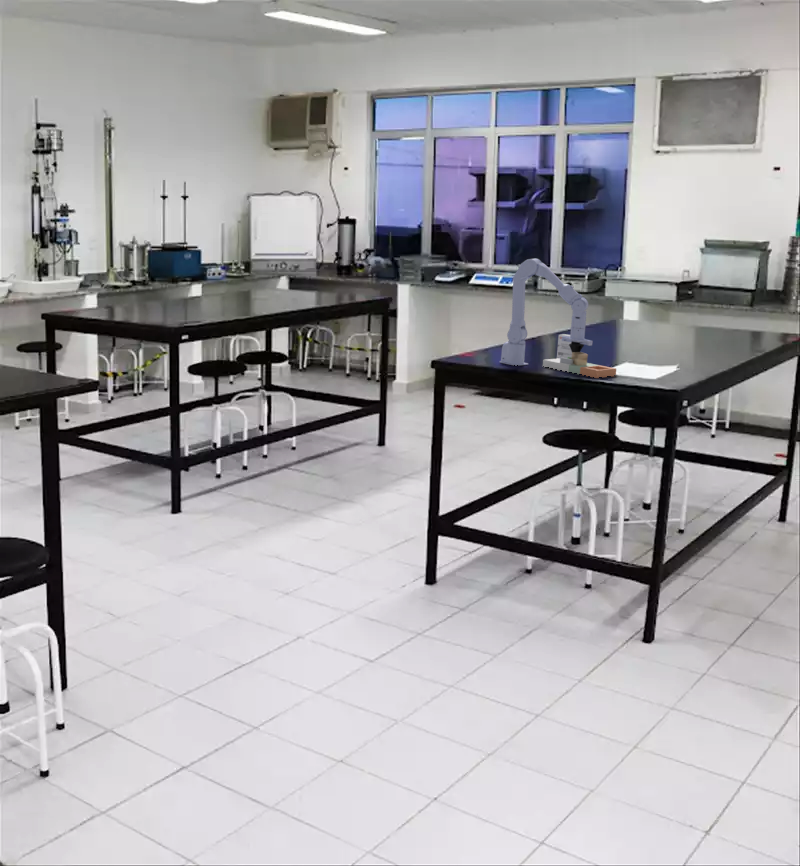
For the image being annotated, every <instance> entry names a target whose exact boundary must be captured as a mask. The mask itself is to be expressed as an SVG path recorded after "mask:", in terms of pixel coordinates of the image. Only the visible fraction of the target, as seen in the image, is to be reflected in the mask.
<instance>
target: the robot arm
mask: <svg viewBox="0 0 800 866" xmlns="http://www.w3.org/2000/svg"><path fill="white" fill-rule="evenodd" d="M534 275H535V276H538V277H543V278H544V279H545V280H547V281H548V282H549V283H550V284H551V285H552V286H553V287H554V288H556V290H558V296H560V297H561V298H562V299H563V301H565V303H567V304H568V305H569V306H571V307H570V308H571V310H572V314H571V323H570V324H571V325H570V334H569V335H570V337H568V336H562V341H567V342H572V343H571V344H569V346H570V348H571V351H572V352H582V349H583V348H584V347H585V345H586V346H589V347H590V346H591V347H592V346H593V340H591V339H586V338H585V337H586V336H585V335H586V325H587V324H586V323H587V322H586V321H587V310H588V308H589V301H588V299H586V297H583V295H582V294H581V293H579V292H577V291H576V289H574V286H573V285H572V284H571V285H570V284H569V283H566V284H565V283H563V281H562V280H561V279H560V278H559V277H558V276H557V275H556V274H555V273H554V272H553V271H552V269H550V267H548V266H547V265H546V264H545V263H544V262H542V260H540V259H539V258H528V259H526V260H524V261H522V262H521V263H520V265H519V267H518V269H517V270H516V272H515V273H514V274H513V278H512V304H511V305H512V306H511V307H512V309H511V310H512V311H511V322H510V323H509V330H508V332H507V334H506V335H507V336H506V337H507V339H508V341H505V342H504V343H503V344H502V347H501V355H500V360H499V363H501V364H504V365H505V364H506V365H511V366H514V365H515V366H516V367H518V366H526V365H528V366H529V363H528V362H525V353H526V342H527V341H526V339H527V337H528V330H527V327H526V320H525V311H526V310H525V307H526V306H525V305H526V303H525V302H526V282H527V281H528V280H529V279H531V278H532V276H534ZM575 341H577V342H575ZM517 365H518V366H517Z"/></svg>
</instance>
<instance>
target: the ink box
mask: <svg viewBox="0 0 800 866" xmlns="http://www.w3.org/2000/svg"><path fill="white" fill-rule="evenodd" d="M562 336H568V337H570V334H565V333H562V334H558V338H557V349H556V350H557V351H556V359H557V358H568V359H571V358H572V351H571V348H570V346H569V344H571V343H572V342H567V341H562ZM575 342H577V341H575Z"/></svg>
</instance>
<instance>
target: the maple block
mask: <svg viewBox="0 0 800 866" xmlns="http://www.w3.org/2000/svg"><path fill="white" fill-rule="evenodd" d="M588 357H589V354H587V353H585V352H582V351H580V352H572V358H571V359H573V364H575V365H577V366H579V365H587V363H588Z"/></svg>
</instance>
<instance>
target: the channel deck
mask: <svg viewBox="0 0 800 866" xmlns="http://www.w3.org/2000/svg"><path fill="white" fill-rule="evenodd" d="M543 366H544V367H543ZM542 367H543V368H545V367H549V368H548V369H550V368H553V369H552V370H555V369H557V370H556V371H560V370H562V371H561V372H565V371H567V372H566V373H569V372H572V373H571V374H574V373H577V374H576V375H579V374H582V375H581V376H584V375H586V376H585V377H588V376H590V378H593V377H594V379H600V378H599V377H602V378H608V377H607V376H611V377H615V376H614V375H616V376H617V368H615V367H610V366H606V365H600V364H594V363H591V362H587V365H579V366H577V365H575V364H573V359H568V358H557V357H556V358H550V359H549V358H547V359H546V358H545V359H543V360H542Z"/></svg>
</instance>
